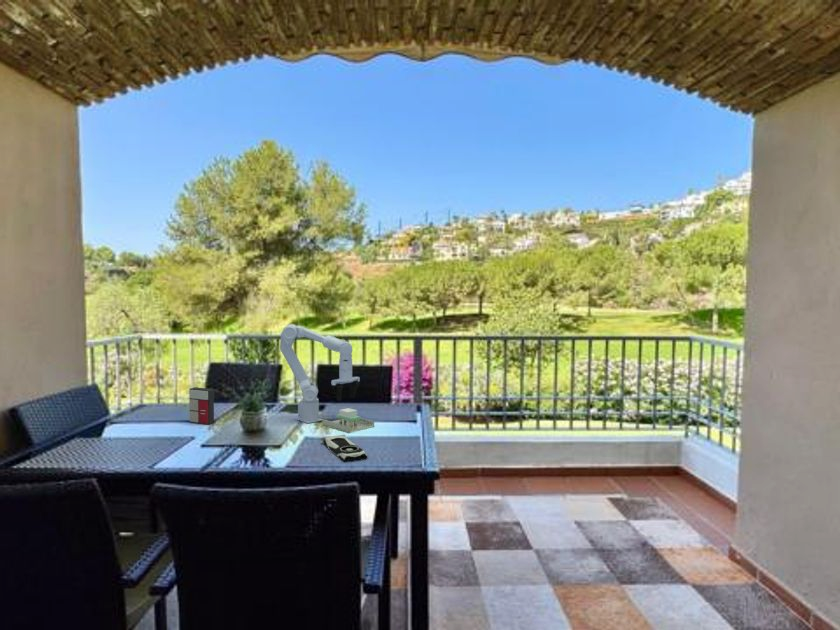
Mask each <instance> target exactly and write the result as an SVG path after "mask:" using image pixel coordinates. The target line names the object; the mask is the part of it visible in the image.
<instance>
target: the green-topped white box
mask: <svg viewBox="0 0 840 630" xmlns="http://www.w3.org/2000/svg"><path fill="white" fill-rule="evenodd" d="M338 411H339V412H338V414H335V415H336V418H338V419H339V418H340V419H344V420H347V421H355V420H360V418H361V416H359V415H358V409H353V408H349V407H347V408H342V409H339V410H338Z"/></svg>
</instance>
